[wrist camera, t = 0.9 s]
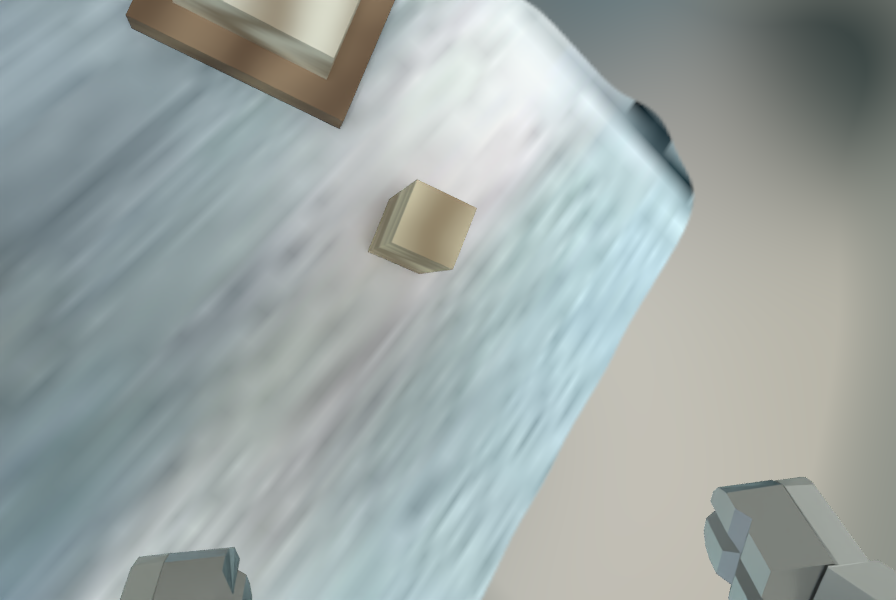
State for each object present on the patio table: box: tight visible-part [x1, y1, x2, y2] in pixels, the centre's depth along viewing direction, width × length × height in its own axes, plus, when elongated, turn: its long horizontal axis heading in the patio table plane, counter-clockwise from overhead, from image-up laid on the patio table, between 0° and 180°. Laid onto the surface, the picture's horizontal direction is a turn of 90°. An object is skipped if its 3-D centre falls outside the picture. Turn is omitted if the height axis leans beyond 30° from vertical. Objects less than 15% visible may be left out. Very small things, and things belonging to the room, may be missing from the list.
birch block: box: [368, 180, 477, 274], centre depth 42 cm, size 4×4×8 cm
